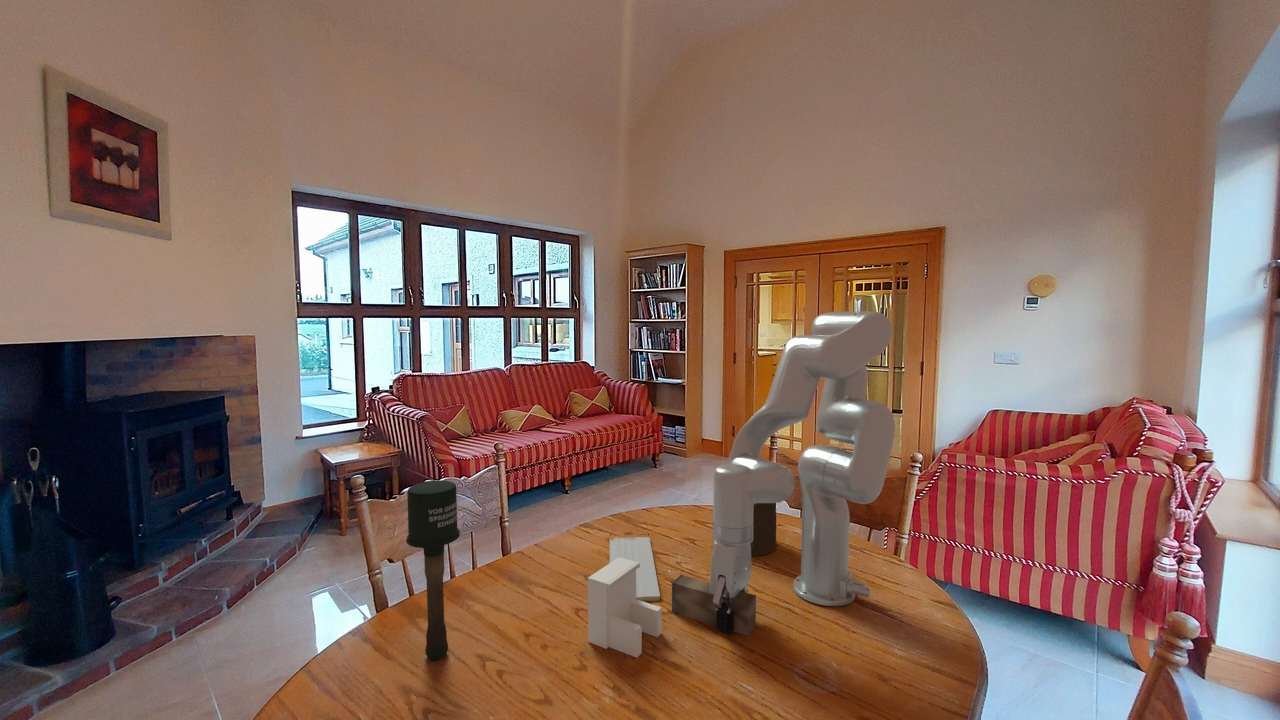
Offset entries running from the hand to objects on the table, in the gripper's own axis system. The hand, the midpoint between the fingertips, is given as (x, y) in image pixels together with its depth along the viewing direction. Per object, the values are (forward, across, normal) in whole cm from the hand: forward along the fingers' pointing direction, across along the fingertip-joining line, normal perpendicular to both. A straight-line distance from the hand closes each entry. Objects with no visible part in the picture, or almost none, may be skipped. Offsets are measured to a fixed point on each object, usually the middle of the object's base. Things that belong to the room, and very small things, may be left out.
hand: (732, 621), depth 104 cm
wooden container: (+1, -37, -11) cm, 39 cm away
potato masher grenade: (+1, +36, -40) cm, 54 cm away
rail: (+1, 0, -4) cm, 4 cm away
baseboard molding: (+1, -10, -30) cm, 32 cm away
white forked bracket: (+1, +14, -15) cm, 21 cm away
